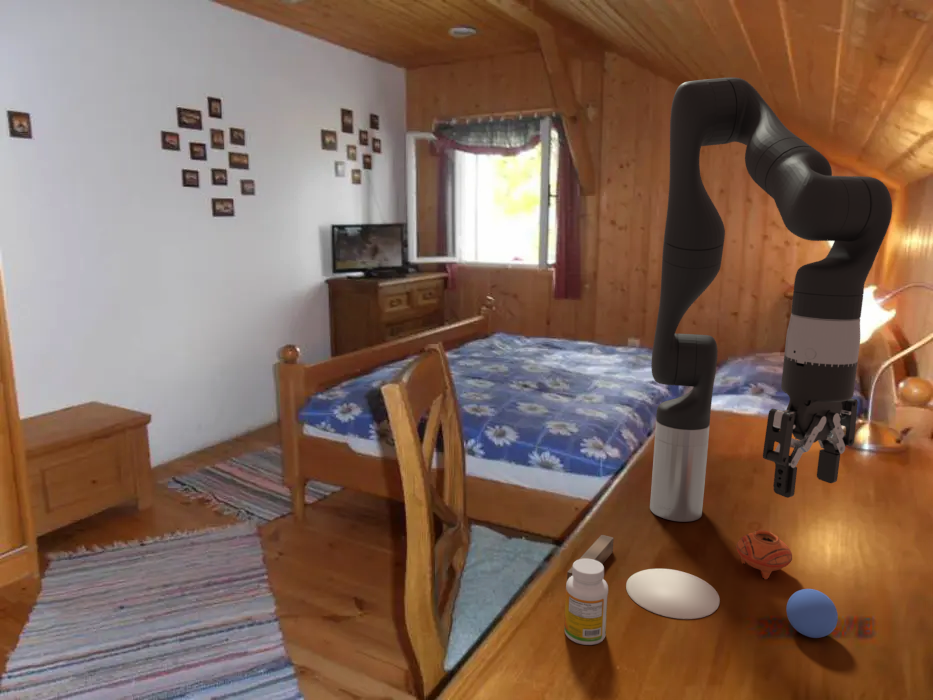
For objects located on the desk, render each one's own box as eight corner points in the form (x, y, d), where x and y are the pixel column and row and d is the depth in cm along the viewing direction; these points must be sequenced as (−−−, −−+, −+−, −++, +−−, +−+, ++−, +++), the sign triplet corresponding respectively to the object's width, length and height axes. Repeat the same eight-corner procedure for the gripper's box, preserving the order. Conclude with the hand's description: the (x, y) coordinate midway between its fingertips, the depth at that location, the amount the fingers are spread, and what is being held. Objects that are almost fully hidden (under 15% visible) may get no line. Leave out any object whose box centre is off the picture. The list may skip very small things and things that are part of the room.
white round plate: (642, 561, 108) (642, 560, 108) (728, 585, 101) (728, 584, 101) (613, 600, 97) (613, 599, 97) (707, 630, 90) (707, 628, 90)
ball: (787, 615, 94) (792, 575, 93) (836, 629, 91) (842, 588, 90) (781, 637, 89) (786, 596, 88) (832, 653, 86) (838, 610, 85)
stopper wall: (601, 548, 112) (601, 534, 111) (612, 551, 111) (613, 537, 110) (566, 587, 100) (567, 571, 100) (579, 591, 99) (580, 575, 99)
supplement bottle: (577, 616, 93) (580, 551, 91) (613, 632, 90) (617, 564, 88) (556, 635, 89) (559, 566, 87) (592, 652, 86) (596, 581, 84)
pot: (762, 551, 111) (774, 518, 108) (794, 586, 104) (808, 551, 102) (720, 555, 109) (731, 521, 106) (750, 591, 102) (763, 556, 99)
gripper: (825, 344, 85) (811, 467, 88) (752, 354, 78) (739, 488, 81) (887, 354, 79) (870, 487, 82) (814, 367, 72) (798, 512, 75)
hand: (805, 487), depth 81 cm, fingers open, 8 cm apart
